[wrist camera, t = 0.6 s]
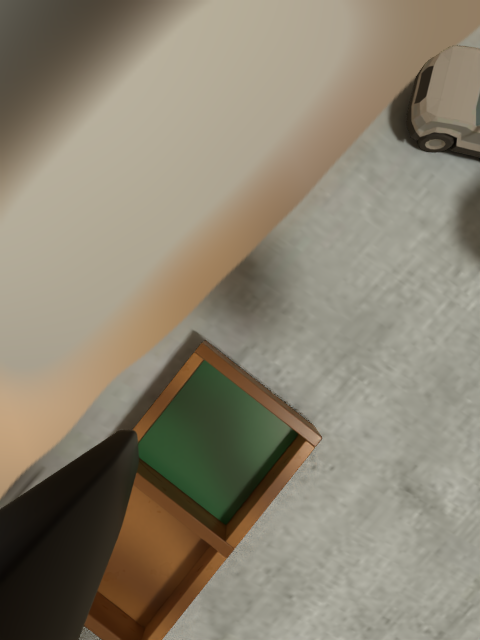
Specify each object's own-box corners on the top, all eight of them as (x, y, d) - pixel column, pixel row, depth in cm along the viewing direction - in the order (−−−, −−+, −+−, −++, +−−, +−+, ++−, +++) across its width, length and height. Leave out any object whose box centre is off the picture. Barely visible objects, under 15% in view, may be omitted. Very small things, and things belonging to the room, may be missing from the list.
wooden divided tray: (148, 637, 24) (139, 669, 22) (37, 551, 24) (17, 575, 22) (315, 427, 24) (323, 438, 22) (204, 339, 24) (201, 342, 22)
